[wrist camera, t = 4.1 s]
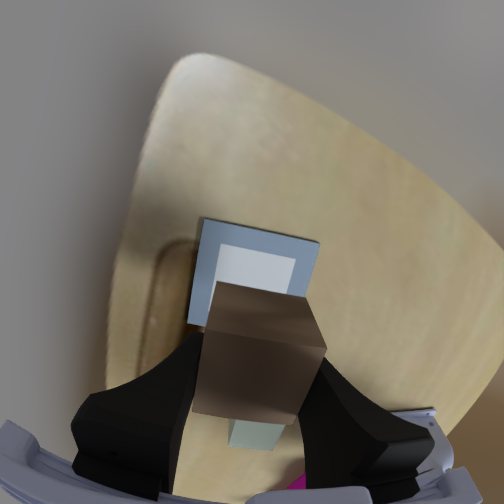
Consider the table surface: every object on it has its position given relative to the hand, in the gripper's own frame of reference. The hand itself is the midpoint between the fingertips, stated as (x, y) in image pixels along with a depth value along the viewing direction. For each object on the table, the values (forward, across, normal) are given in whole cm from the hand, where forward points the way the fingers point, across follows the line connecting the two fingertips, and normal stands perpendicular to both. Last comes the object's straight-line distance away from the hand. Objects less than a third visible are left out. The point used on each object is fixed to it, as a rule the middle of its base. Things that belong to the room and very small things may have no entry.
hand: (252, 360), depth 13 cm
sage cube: (+9, -3, +12) cm, 15 cm away
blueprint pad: (+9, 0, 0) cm, 9 cm away
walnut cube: (+3, 0, 0) cm, 3 cm away
